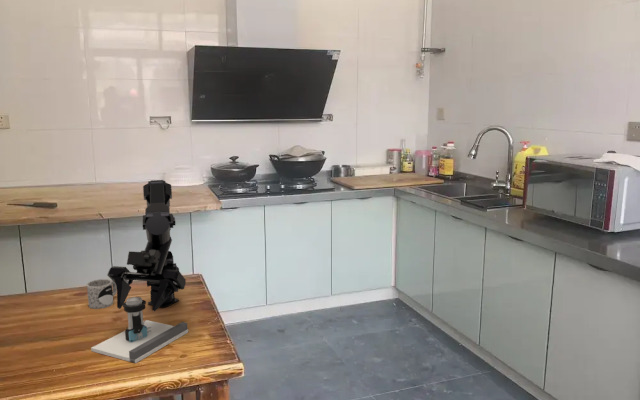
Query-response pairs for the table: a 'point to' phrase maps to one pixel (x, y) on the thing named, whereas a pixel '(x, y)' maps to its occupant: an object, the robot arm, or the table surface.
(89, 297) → the mug
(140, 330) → the push button
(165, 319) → the table surface
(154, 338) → the marker board
